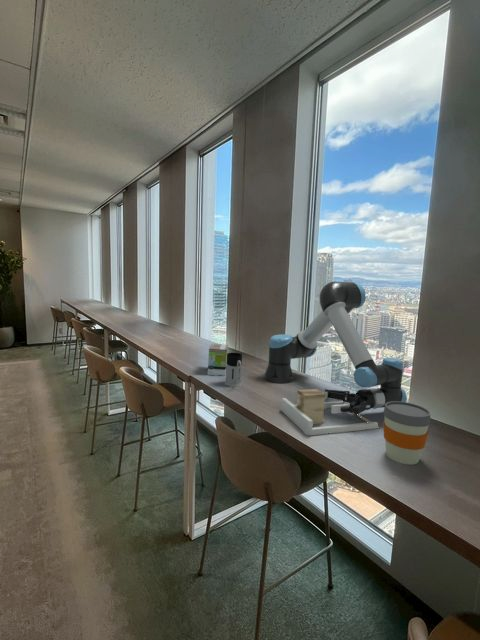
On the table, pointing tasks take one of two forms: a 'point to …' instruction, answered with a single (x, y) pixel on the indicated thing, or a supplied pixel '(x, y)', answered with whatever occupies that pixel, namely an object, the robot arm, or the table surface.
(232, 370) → the glass holder
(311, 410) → the tan cardboard box
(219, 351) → the tea box
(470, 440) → the table surface
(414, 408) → the reusable coffee cup
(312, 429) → the bay
